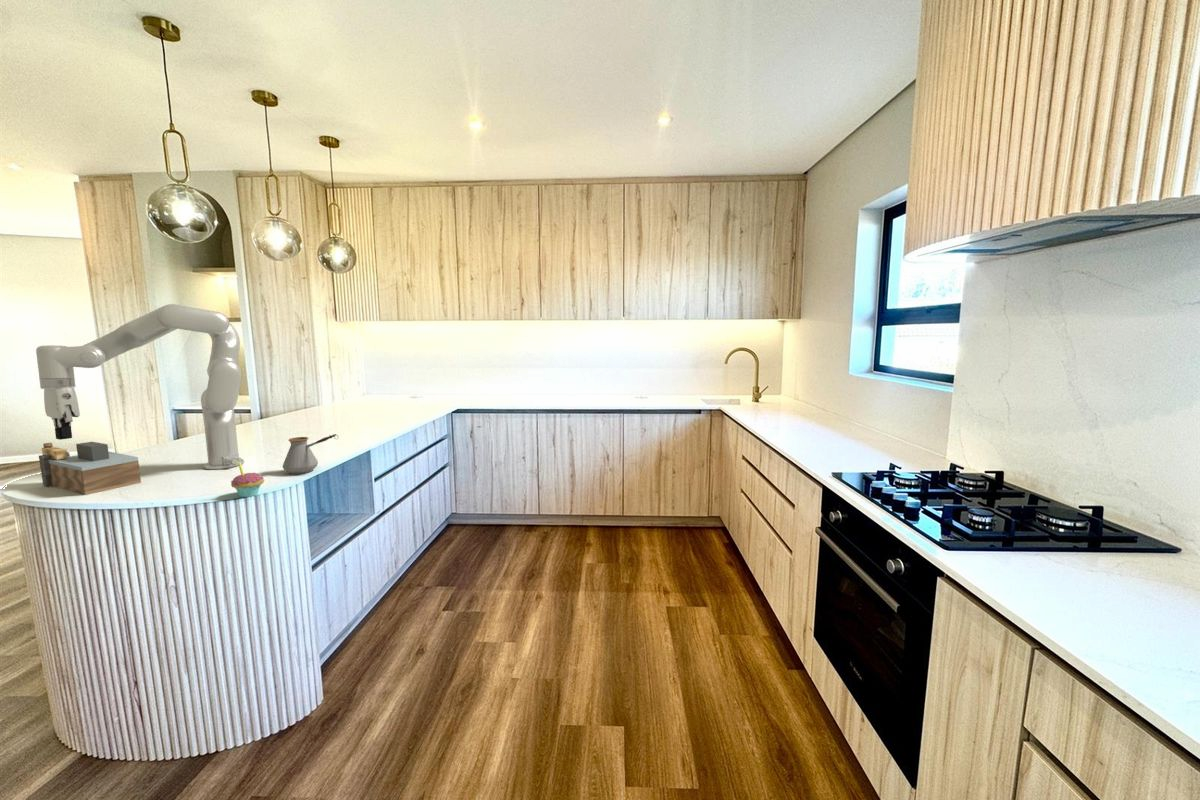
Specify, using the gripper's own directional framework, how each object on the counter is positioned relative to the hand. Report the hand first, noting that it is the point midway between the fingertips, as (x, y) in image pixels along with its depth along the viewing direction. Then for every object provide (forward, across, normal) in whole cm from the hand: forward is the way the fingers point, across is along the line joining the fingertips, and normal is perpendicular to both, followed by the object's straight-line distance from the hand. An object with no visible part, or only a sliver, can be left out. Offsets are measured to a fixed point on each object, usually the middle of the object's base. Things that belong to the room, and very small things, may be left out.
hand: (64, 438), depth 155 cm
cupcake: (+16, -60, -20) cm, 66 cm away
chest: (+17, -1, -5) cm, 18 cm away
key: (+8, +10, -1) cm, 12 cm away
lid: (+10, -2, -6) cm, 12 cm away
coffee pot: (+16, -55, -46) cm, 74 cm away
